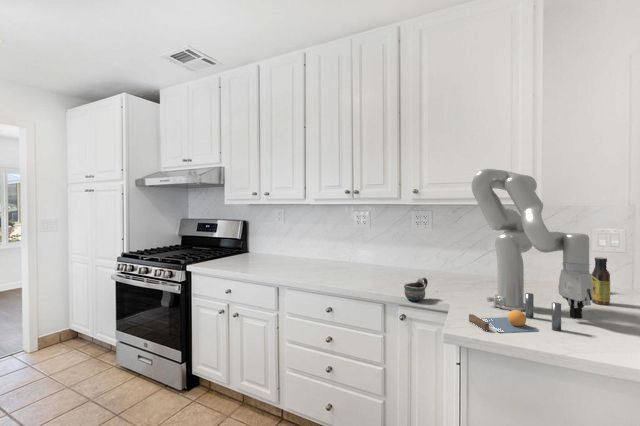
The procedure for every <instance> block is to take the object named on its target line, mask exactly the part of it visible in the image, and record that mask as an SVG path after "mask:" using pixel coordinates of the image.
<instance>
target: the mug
mask: <svg viewBox="0 0 640 426" xmlns="http://www.w3.org/2000/svg"><path fill="white" fill-rule="evenodd" d="M428 282H429V281H428V279H427V278H426V277H424V276H420V277H418V278H417V280H416V282H408V283H405V284H403V288H404V295H405V297H406V299H408V300H409V301H412V302H419V301H423V300H424V299H425V297H426V289H427V287H428V284H429V283H428Z"/></svg>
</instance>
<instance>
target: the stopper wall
mask: <svg viewBox="0 0 640 426" xmlns="http://www.w3.org/2000/svg"><path fill="white" fill-rule="evenodd" d="M480 318H481V317H478V316H476V315H475V314H473V313H472V314H471V313H469V314H468V322H469V321H471V322H472V324H473V323H474V324H475V325H474V324H473V325H474V326H476V325H477V326H478V328H479V327H480V328H482V329H483V330H482V329H481V330H482V331H484V330H489V331H490V327H489V323H487V322H485V321H483V320H482V319H480ZM471 322H470V323H471ZM477 326H476V327H477ZM480 328H479V329H480Z"/></svg>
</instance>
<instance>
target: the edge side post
mask: <svg viewBox="0 0 640 426" xmlns="http://www.w3.org/2000/svg"><path fill="white" fill-rule="evenodd" d="M551 330H552V331H554V332H562V303H560V302H551Z"/></svg>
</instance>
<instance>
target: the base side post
mask: <svg viewBox="0 0 640 426" xmlns="http://www.w3.org/2000/svg"><path fill="white" fill-rule="evenodd" d="M524 295H525V297H524V303H525V310H524V311H525V312H524V314H525V316H526V319H530V320H533V319H534V316H535V314H534V313H535V312H534V307H535V306H534V305H535V304H534V302H535V301H534V300H535V299H534V293H531V292H525V293H524Z"/></svg>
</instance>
